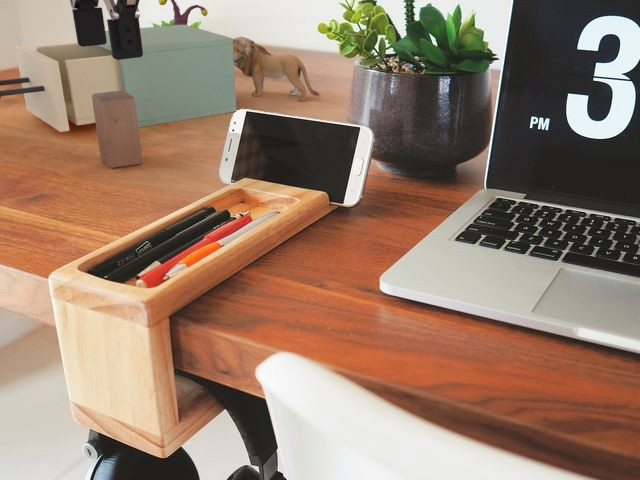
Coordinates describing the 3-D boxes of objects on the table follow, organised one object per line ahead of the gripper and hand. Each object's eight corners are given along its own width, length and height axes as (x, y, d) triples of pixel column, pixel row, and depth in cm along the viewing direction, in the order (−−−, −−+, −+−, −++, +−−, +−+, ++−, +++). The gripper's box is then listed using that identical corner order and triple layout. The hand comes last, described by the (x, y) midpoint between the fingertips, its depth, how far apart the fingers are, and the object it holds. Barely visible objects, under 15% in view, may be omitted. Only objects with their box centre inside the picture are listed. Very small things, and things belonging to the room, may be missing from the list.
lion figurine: (226, 96, 116) (223, 38, 112) (236, 89, 120) (233, 33, 116) (316, 102, 114) (315, 43, 110) (322, 94, 119) (322, 38, 115)
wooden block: (109, 169, 83) (99, 100, 80) (100, 160, 86) (90, 93, 83) (143, 164, 85) (135, 96, 82) (133, 155, 88) (125, 89, 85)
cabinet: (130, 129, 98) (120, 48, 93) (89, 106, 108) (78, 32, 103) (236, 111, 108) (232, 38, 103) (190, 92, 118) (184, 24, 113)
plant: (122, 47, 151) (115, -10, 145) (214, 43, 158) (211, -12, 153) (138, 66, 135) (130, 2, 129) (240, 60, 142) (236, 0, 137)
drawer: (5, 140, 89) (-10, 68, 85) (-25, 117, 98) (-40, 50, 94) (171, 114, 102) (165, 50, 98) (131, 95, 111) (124, 36, 107)
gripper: (17, -125, 76) (48, 43, 84) (78, -129, 64) (107, 68, 72) (88, -123, 80) (111, 37, 88) (157, -126, 68) (177, 59, 76)
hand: (109, 51), depth 80 cm, fingers open, 9 cm apart
